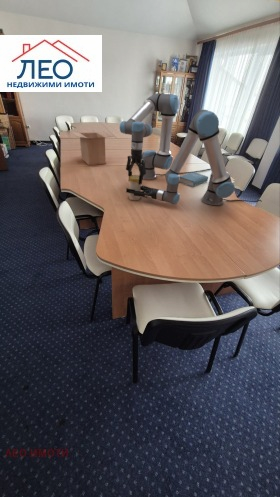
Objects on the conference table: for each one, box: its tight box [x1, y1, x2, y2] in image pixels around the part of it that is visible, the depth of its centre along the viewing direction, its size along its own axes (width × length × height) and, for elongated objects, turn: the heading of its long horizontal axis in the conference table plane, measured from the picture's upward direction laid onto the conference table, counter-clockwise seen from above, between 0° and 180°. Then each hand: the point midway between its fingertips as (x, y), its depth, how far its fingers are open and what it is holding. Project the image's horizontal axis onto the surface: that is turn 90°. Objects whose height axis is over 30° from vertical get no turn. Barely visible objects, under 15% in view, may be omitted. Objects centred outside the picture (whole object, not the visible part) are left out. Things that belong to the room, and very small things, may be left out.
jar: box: [128, 181, 142, 201], centre depth 162 cm, size 8×8×15 cm
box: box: [70, 129, 114, 166], centre depth 229 cm, size 44×36×27 cm
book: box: [179, 171, 209, 188], centre depth 201 cm, size 23×16×5 cm
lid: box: [128, 174, 139, 182], centre depth 157 cm, size 9×9×2 cm
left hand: (135, 182), depth 159 cm, fingers closed on lid, 9 cm apart
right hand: (129, 188), depth 164 cm, fingers closed on jar, 8 cm apart
